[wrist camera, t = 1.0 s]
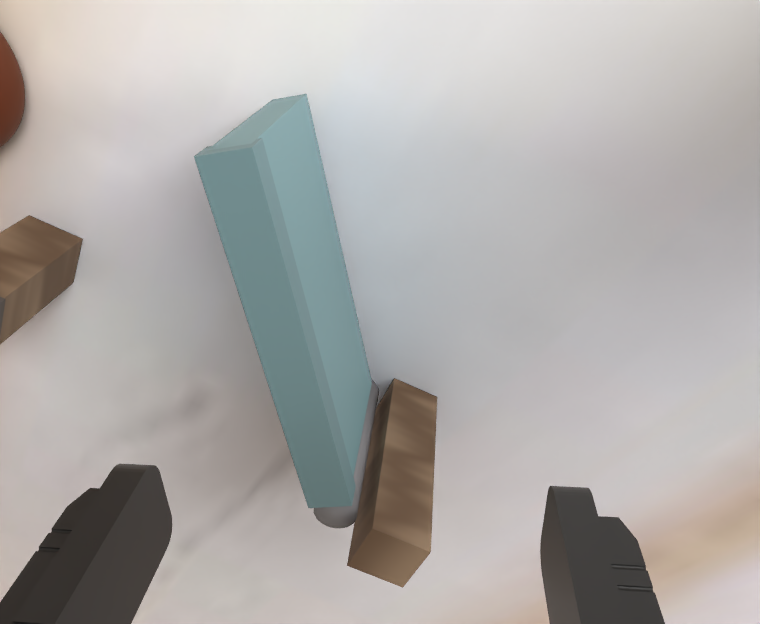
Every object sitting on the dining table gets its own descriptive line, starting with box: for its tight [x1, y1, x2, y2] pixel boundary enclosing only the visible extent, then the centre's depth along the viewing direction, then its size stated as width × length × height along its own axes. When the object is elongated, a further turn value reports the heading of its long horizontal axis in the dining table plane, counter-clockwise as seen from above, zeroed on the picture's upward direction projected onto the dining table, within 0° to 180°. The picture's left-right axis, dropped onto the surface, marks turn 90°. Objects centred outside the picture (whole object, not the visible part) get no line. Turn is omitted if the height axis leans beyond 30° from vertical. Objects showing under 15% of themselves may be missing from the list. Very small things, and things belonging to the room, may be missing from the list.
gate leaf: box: [194, 94, 379, 528], centre depth 28 cm, size 18×2×10 cm, turn 10°
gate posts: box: [0, 216, 437, 587], centre depth 31 cm, size 25×3×11 cm, turn 65°
